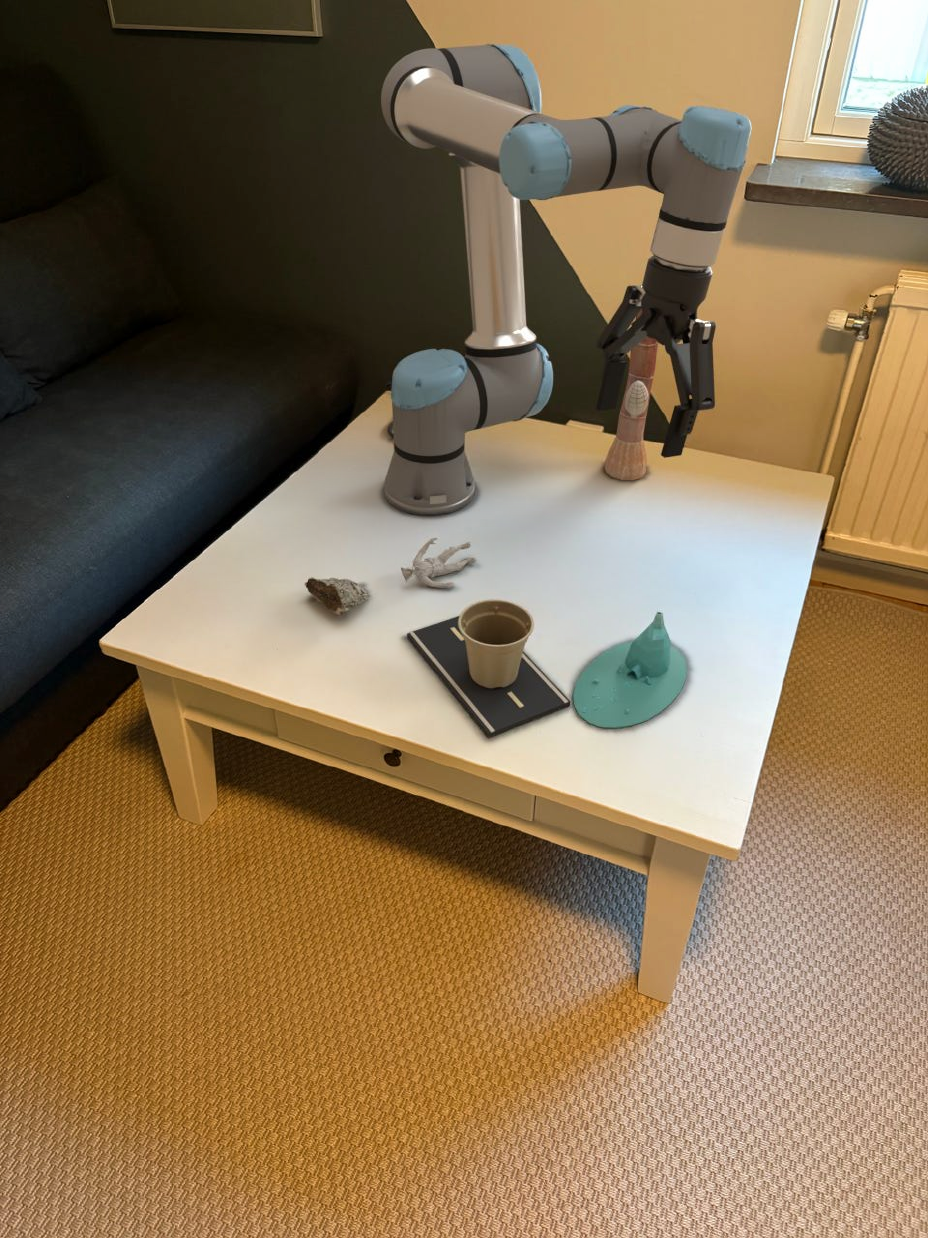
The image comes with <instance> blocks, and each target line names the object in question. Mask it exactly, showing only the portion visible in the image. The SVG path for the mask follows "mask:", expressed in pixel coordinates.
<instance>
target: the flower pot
mask: <svg viewBox="0 0 928 1238" xmlns="http://www.w3.org/2000/svg"><path fill="white" fill-rule="evenodd" d="M458 616H459V619H458V627H459V630H460V632H461V633H462V635H463V638H464V640H465V643H466V649H467V656H468V662H469V671H470V675H471V677H472V679H473V680H474V681H475V682H476V683H477V684H479V685H481V686H483V687H487V688H495V687H506V686H508V685H510V684H511V683H513V682H514V681H515V679H516V677H517V675H518V670H519V665H520V661H521V658H522V654H523V652H524V649H525V646H526V643H527V641H528V640H529V637H530V636H531V635H532V633H533V632H534V628H535V621H534V618H533V616H532V614H531V613H530V612H529V610H527V609H526V608H525V607H523V606H522V605H520V604H517V602H516V603H515V602H513V601H509V600H506V599H499V598H498V599H496V598H495V599H494V598H493V599H490V598H489V599H483V600H478V601H475V602H473V603H471V604H469V605H468V606H466V607H465V608H464V609H463V610H462V611H461V613H460V615H458Z"/></svg>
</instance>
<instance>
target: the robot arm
mask: <svg viewBox="0 0 928 1238" xmlns="http://www.w3.org/2000/svg"><path fill="white" fill-rule="evenodd" d="M380 102H381V103H380V104H381V111H382V115H383V118H384V120H385V123H386V125H387V126H388V128H389V129H390V131H391V132H392V133H393V135H395V136H396V137H397V138H399V139H400V140H401V141H403V142H405V143H407V144H409V145H411V146H414V147H416V148H419V149H425V150H426V149H433V148H438V149H442V150H443V151H446V152H448V156H449V157H450V158H451V159H452V160H453V161H454V162H455V163H456V164H457V165H458V166H459V170H460V172H459V173H460V184H461V185H460V186H461V195H462V208H463V209H462V210H463V221H464V223H463V224H464V233H465V248H466V258H467V259H466V260H467V273H468V285H469V297H470V311H471V322H472V323H471V325H472V331H471V333H470V334H469V335H468V337H467V338H466V339H465V340H464V353H465V354H464V355H465V356H463V355H462V354H461V353H460V352H459V351H456V350H453V349H447V348H441V349H438V350H437V349H436V348H429V349H425V350H420V351H417V352H414V353H412V354H410V355H407V356H406V357H404V358H403V359H401V360H400V361H399V362H398V363H397V365H396V367H394V370H393V372H392V380H391V381H388V382H387V383H386V384H385V387H386V388H389V387H391V389H390V399H391V407H392V408H391V409H392V411H391V412H392V421H391V422H390V423H389V424H388V426H387V430H386V431H387V434H388V436H389V437H390V438H391V439H393V453H392V456H391V460H390V462H389V467H388V469H387V472H386V475H385V477H384V484H383V485H384V496H385V498H386V500H387V501H388V503H389V504H390V505H391V506H393V507H395V508H396V509H398V510H401V511H403V512H406V513H410V514H414V515H420V516H438V515H445V514H449V513H453V512H456V511H459V510H461V509H463V508H464V507H466V506H467V505H469V504H470V503H471V502H472V500H473V499H474V497H475V491H476V490H475V489H476V487H475V486H476V484H475V478H474V474H473V471H472V469H471V465H470V463H469V460H468V457H467V453H466V450H465V446H466V445H465V443H466V433H469V432H473V431H476V430H481V429H485V428H490V427H493V426H498V425H501V424H506V423H509V422H510V423H511V422H514V423H515V422H519V421H522V420H524V419H526V418H528V417H532V416H534V415H538V414H539V413H541V411H543V409H544V407H545V406H546V405H547V404H548V402H549V400H550V397H551V395H552V391H553V385H554V371H553V370H554V369H553V364H552V361H550V360H549V358H550V355H549V353H548V351H547V350H546V348H544V346H542V345H541V344H540V343H538V342H537V335H536V334H535V333H534V332H533V331H532V330H531V329H530V328H529V327H528V326H527V313H526V312H527V311H526V298H525V297H526V293H525V278H524V276H525V275H524V274H525V273H524V258H523V239H522V222H521V219H522V218H521V202H520V201H529V200H535V201H536V200H537V201H548V200H550V199H554V198H559V197H567V196H573V195H580V194H586V193H592V192H601V191H609V190H616V189H623V188H631V187H639V186H640V187H644V188H648V189H650V190H653V191H655V192H658V193H660V194H663V198H662V201H661V202H662V203H661V206H660V209H659V213H658V217H657V222H656V225H655V230H654V233H653V237H652V241H651V245H650V249H649V251H650V252H651V254H652V256H650V257H649V258H648V259H647V262H646V267H645V271H644V275H643V279H642V283H641V284H638V285H637V284H635V285H628V286H626V289H625V293H624V295H623V299H622V302H621V303H620V304H619V306H618V307H617V309H616V311H615V312H614V314H613V315H612V317H611V318H610V320H609V322H608V323H607V325H605V328H604V329H603V330H602V332H601V334H600V335H599V337H598V339H597V341H596V344H595V346H596V348H597V350H601V351H602V352H603V358H604V361H603V366H602V371H601V375H600V382H601V385H600V390H599V393H598V398H597V402H596V406H595V410H597V411H598V412H603V411H611V410H613V411H614V410H616V408H617V404H618V401H619V396H620V393H621V392H620V391H621V388H622V385H623V384H622V383H623V380H624V375H625V371H626V367H627V363H628V362H627V361H626V360H625V359H627V358H628V356H627V355H628V354H629V353H631V350H632V349H633V348H634V347H635V346H636V345H638V344H639V343H640V342H641V341H642V340H643V339H645V338H646V337H647V336H648V337H649V338H653V339H656V341H657V342H658V344H660V345H661V346H664V350H665V353H666V354H667V355H669V358H670V362H671V367H672V371H673V376H674V381H675V385H676V389H677V396H678V399H679V404H675V405H673V406H674V407H673V410H672V413H671V417H670V421H669V424H668V428H667V431H666V434H665V439H664V442H663V446H662V449H661V453H660V456H661V457H662V458H665V459H666V458H673V457H679V456H680V457H681V456H682V454H683V451H684V447H685V443H686V441H687V437H688V435H691V433H692V432H693V430H694V426H695V423H696V419H697V417H698V414H699V412H700V411H708V410H714V408H715V406H716V396H715V395H716V392H715V370H714V367H715V366H714V345H713V344H714V343H713V342H714V337H715V333H716V329H717V325H716V322H715V321H713V320H706V321H704V320H701V319H699V318H698V309H699V307H700V305H702V303H703V302H704V301H705V300H706V299H707V294H708V292H709V287H710V284H711V280H712V277H713V273H714V272H713V270H712V268H711V267H712V266H713V265H715V264H716V261H717V258H718V255H719V251H720V247H721V244H722V240H723V237H724V233H725V229H726V226H727V222H728V218H729V215H730V212H731V209H732V205H733V201H734V198H735V194H736V192H737V188H738V186H739V185H738V184H739V182H740V178H741V176H742V175H741V174H742V172H743V168H744V167H745V165H746V163H747V154H748V148H749V143H750V138H751V133H752V129H753V128H752V122H751V120H750V118H748V117H747V116H746V115H744V114H742V113H739V112H736V111H730V110H726V109H723V108H719V107H713V106H705V105H692V106H689V107H688V108H686V109H685V111H684V112H683V114H682V118H681V119H678V118H676V117H673V116H671V115H668V114H664V113H662V112H659V111H658V110H656V109H654V108H651V107H650V106H638V105H634V104H628V105H627V104H626V105H622V106H619V107H618V108H617V109H615V110H614V111H612V113H610V114H608V115H606V116H597V117H595V116H594V117H587V118H575V119H559V118H556V117H552V116H549V115H546V114H543V113H542V107H543V106H542V104H543V103H542V102H543V101H542V90H541V83H540V80H539V76H538V72H537V71H536V68H535V66H534V63H533V62H532V61H531V60H530V59H529V57H528V55H527V54H526V52H524V51H523V50H522V49H520V48H519V47H517V46H515V45H510V44H495V43H492V44H491V43H487V44H481V45H468V46H455V47H454V46H453V47H440V48H435V47H433V48H432V47H430V48H424V49H423V48H422V49H419V50H414V51H413V52H411V53H408V54H407V55H405V56H403V57H402V58H401V59H399V60H398V61H397V62H396V63H394V65H393V66H392V67H391V69H390V70H389V72H388V73H387V75H386V76H385V79H384V81H383V83H382V89H381V96H380ZM641 308H642V315H641V316H639V317H638V318H637V319H636V316H637V315H638V313H639V312H640V310H641ZM681 341H682V343H680V342H681ZM690 397H691V398H690ZM392 430H393V431H392Z"/></svg>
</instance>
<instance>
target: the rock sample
mask: <svg viewBox="0 0 928 1238" xmlns="http://www.w3.org/2000/svg"><path fill="white" fill-rule="evenodd" d="M304 586H305V588H306V589H307V591H308V593H309V594H310V595H312V596H313V597H314V598H315V599H316V600H317V601H318V602H320V603H322V605H324V606H325V608H326V609H327V610H329V611H332V613H334V614H336V615H339V616H340V615H343V614H344V613H345V612H347V611H349V610H352V609H356V607H358V606H359V605H360V604H361V603H362V602H365V601H367V600H368V599H369V598H370V597H371V593H369V592H368V591H366V590H365V588H363V587H362V586H361V584H360V583H358V582H356V581H353V580H351V579H349V578H341V579H339V578H335V577H330V578H322V579H321V578H315V577H312V576H310V577H309V578H308V579H307V581H305V582H304Z"/></svg>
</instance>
